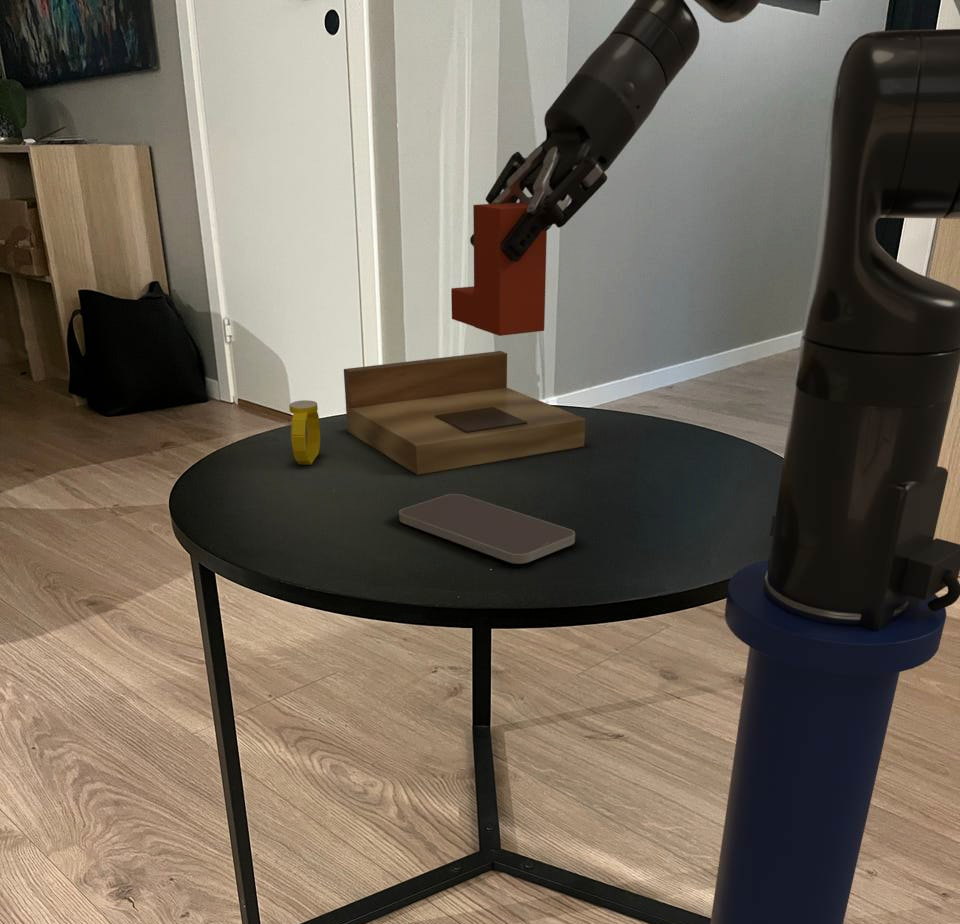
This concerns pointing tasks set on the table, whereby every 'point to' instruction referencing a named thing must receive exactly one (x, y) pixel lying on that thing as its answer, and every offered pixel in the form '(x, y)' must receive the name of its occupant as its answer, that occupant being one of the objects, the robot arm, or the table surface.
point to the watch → (304, 417)
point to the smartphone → (488, 528)
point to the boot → (502, 277)
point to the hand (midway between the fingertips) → (492, 251)
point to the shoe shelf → (452, 413)
